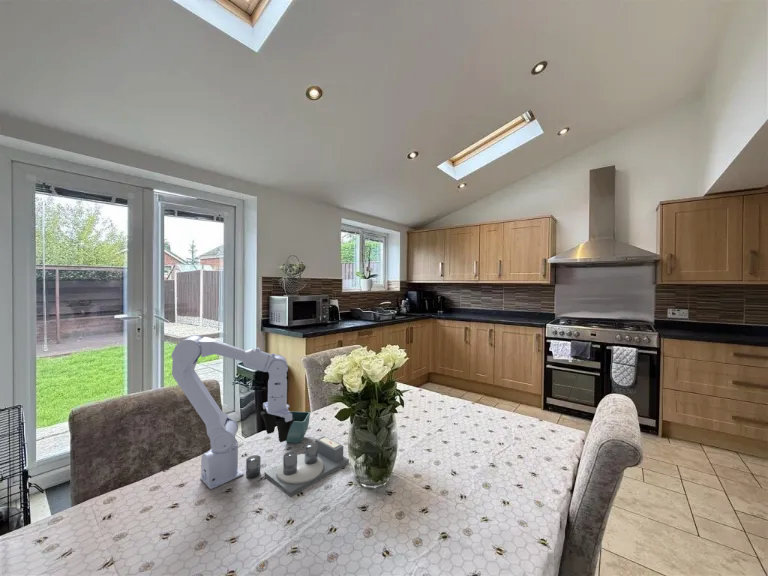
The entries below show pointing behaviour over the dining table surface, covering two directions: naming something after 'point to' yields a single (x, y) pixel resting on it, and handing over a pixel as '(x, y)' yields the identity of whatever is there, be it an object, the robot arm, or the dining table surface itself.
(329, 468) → the scale
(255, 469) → the cylinder
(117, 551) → the dining table surface
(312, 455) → the cylinder
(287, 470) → the cylinder
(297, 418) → the flower pot
